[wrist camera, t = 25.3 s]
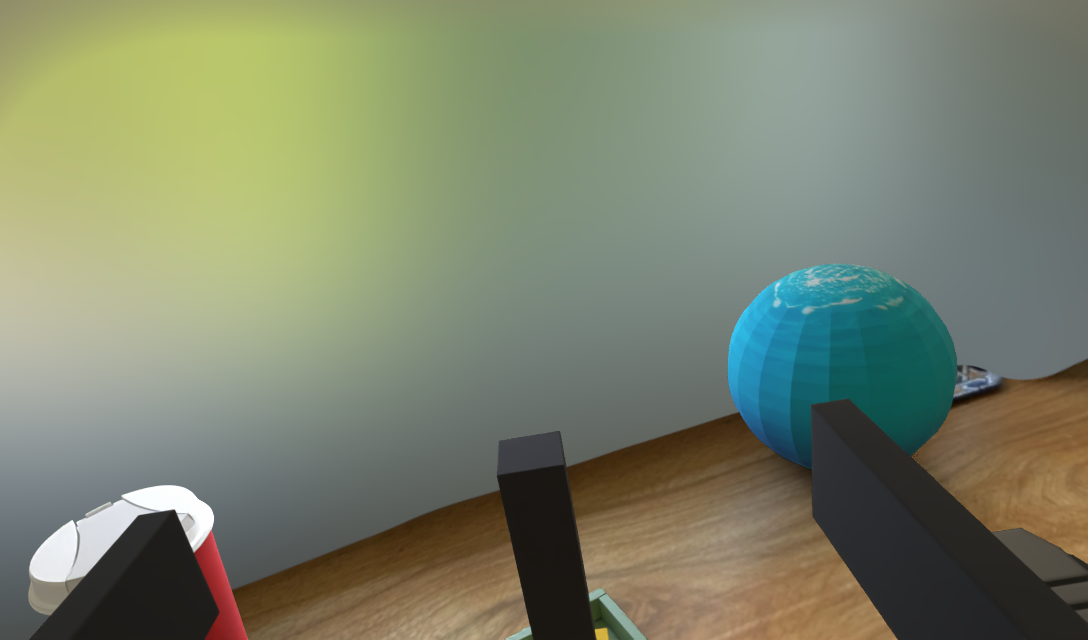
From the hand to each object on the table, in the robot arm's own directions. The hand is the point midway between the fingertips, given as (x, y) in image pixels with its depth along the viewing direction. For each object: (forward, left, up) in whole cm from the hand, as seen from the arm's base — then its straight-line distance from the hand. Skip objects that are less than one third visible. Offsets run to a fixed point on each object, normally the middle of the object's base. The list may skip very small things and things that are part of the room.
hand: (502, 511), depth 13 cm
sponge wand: (-8, +4, -21) cm, 23 cm away
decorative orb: (-18, +32, -22) cm, 43 cm away
